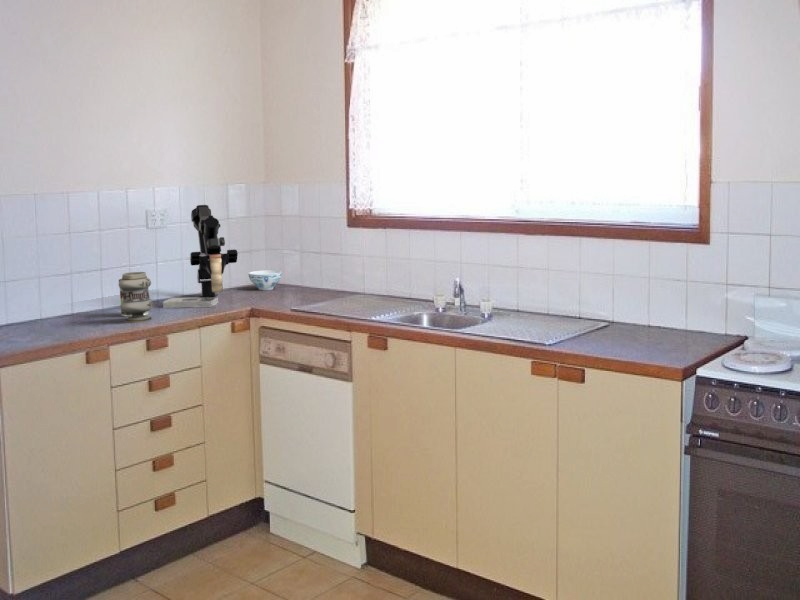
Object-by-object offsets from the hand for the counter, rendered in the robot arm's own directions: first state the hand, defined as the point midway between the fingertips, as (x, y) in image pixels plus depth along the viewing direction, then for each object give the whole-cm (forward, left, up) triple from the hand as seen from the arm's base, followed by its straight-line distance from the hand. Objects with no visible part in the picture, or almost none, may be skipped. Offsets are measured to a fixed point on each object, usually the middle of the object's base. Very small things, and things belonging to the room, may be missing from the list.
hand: (216, 273), depth 383 cm
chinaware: (-49, +8, -14) cm, 51 cm away
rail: (-4, -13, -13) cm, 19 cm away
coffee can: (+16, -29, -14) cm, 36 cm away
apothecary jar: (+29, -23, -14) cm, 40 cm away
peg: (-1, -1, -8) cm, 8 cm away
